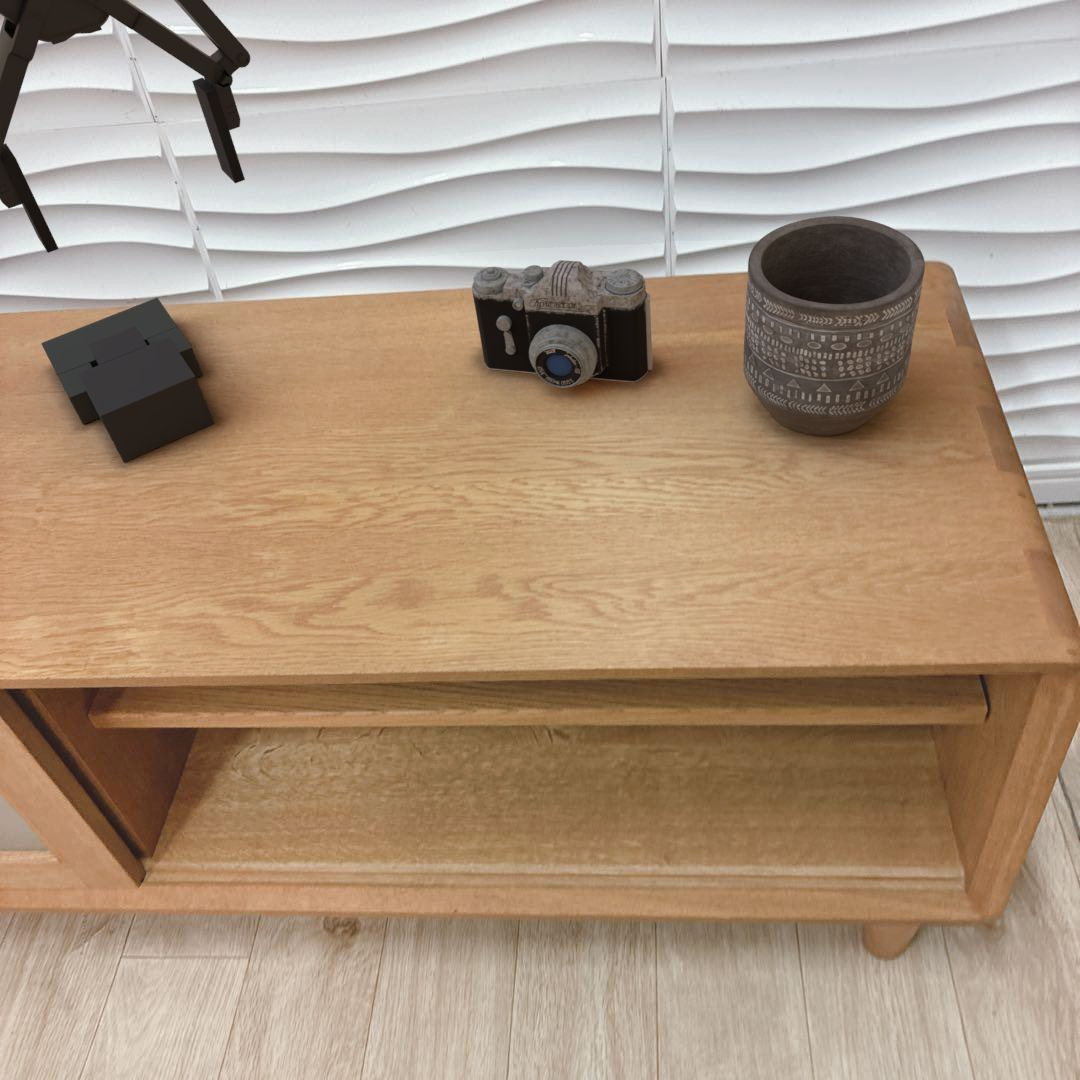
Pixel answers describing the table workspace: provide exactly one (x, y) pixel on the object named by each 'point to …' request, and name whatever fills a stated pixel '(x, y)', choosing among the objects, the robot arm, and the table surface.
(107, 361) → the pad
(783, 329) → the planter
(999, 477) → the table surface
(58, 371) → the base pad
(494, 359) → the camera
